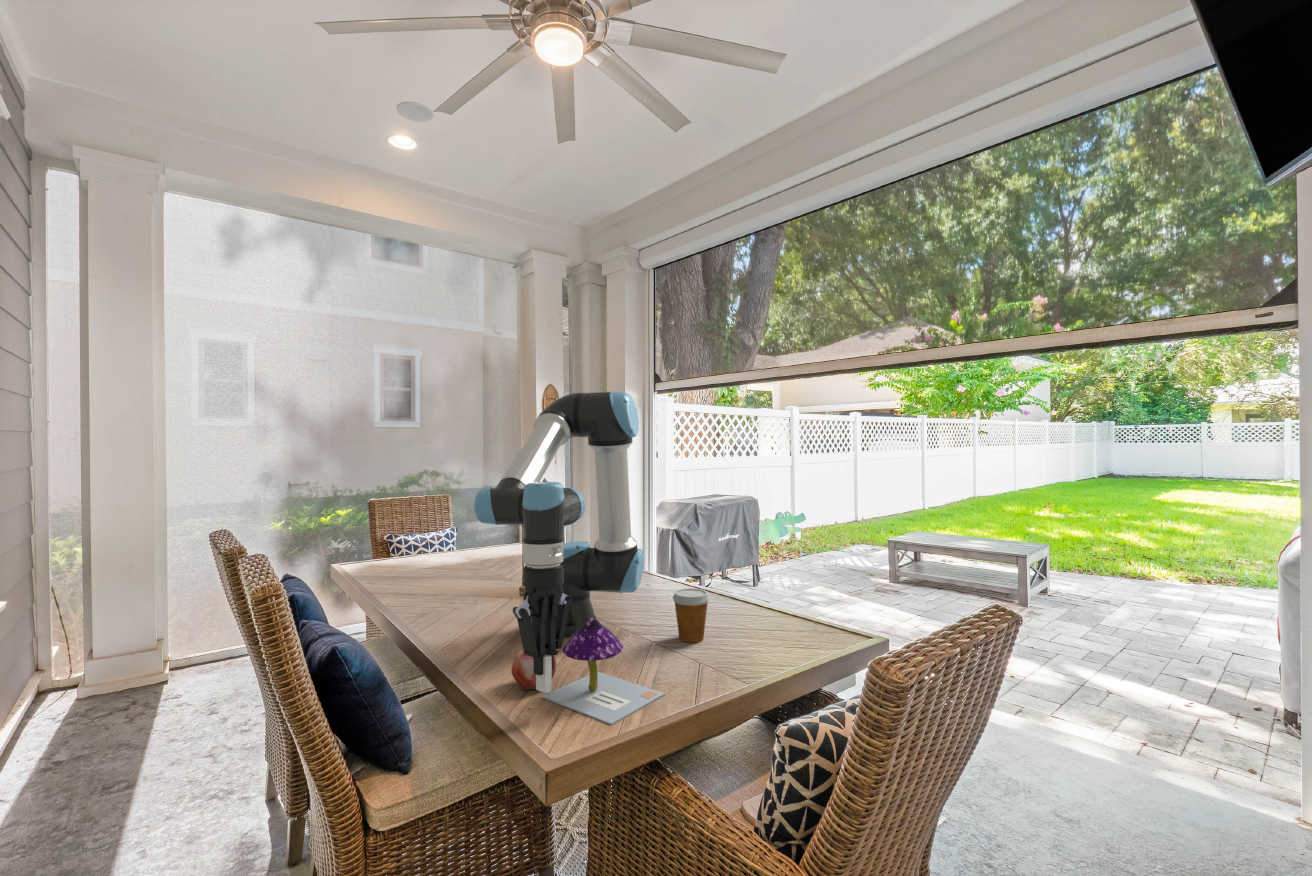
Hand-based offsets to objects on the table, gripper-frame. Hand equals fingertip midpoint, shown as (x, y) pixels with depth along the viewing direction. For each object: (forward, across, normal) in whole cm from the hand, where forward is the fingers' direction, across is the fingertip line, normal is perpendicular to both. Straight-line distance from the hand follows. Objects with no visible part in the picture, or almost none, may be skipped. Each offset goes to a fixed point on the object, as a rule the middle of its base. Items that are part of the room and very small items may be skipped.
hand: (543, 689), depth 112 cm
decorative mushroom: (+5, +13, 0) cm, 14 cm away
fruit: (+5, +8, +13) cm, 16 cm away
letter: (+5, +13, -3) cm, 15 cm away
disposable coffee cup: (+5, +52, +3) cm, 53 cm away
